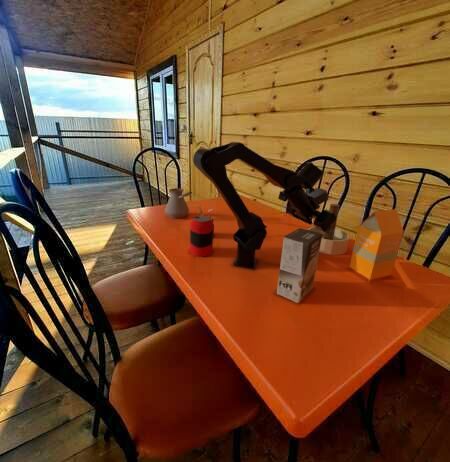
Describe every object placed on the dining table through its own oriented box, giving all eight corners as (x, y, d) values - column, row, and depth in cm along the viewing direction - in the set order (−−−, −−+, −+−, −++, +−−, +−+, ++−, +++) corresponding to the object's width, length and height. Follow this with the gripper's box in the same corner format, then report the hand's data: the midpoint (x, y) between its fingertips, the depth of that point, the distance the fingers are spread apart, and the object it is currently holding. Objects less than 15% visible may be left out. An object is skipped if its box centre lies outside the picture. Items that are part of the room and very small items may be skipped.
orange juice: (348, 268, 79) (361, 207, 73) (369, 264, 82) (384, 205, 76) (369, 282, 72) (386, 215, 66) (391, 277, 75) (410, 213, 69)
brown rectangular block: (335, 249, 91) (343, 207, 85) (320, 247, 92) (327, 205, 87) (334, 244, 95) (342, 204, 90) (320, 241, 96) (327, 202, 91)
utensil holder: (210, 239, 97) (211, 209, 93) (195, 236, 99) (195, 207, 95) (216, 234, 102) (216, 205, 98) (201, 231, 104) (202, 203, 100)
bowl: (349, 260, 85) (352, 243, 83) (305, 252, 89) (307, 237, 87) (344, 243, 98) (347, 229, 96) (306, 237, 102) (308, 223, 100)
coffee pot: (161, 214, 124) (159, 183, 119) (183, 211, 130) (182, 182, 125) (179, 228, 107) (179, 193, 102) (203, 223, 113) (204, 190, 108)
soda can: (199, 245, 92) (199, 213, 88) (216, 250, 88) (217, 217, 84) (185, 252, 86) (185, 219, 82) (204, 259, 82) (204, 224, 78)
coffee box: (299, 304, 62) (308, 244, 57) (276, 293, 66) (282, 236, 60) (313, 288, 69) (323, 233, 63) (291, 279, 72) (298, 226, 67)
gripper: (338, 187, 73) (357, 219, 81) (297, 176, 90) (316, 204, 97) (312, 215, 73) (334, 245, 81) (276, 199, 89) (297, 225, 97)
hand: (320, 228), depth 89 cm, fingers open, 9 cm apart
